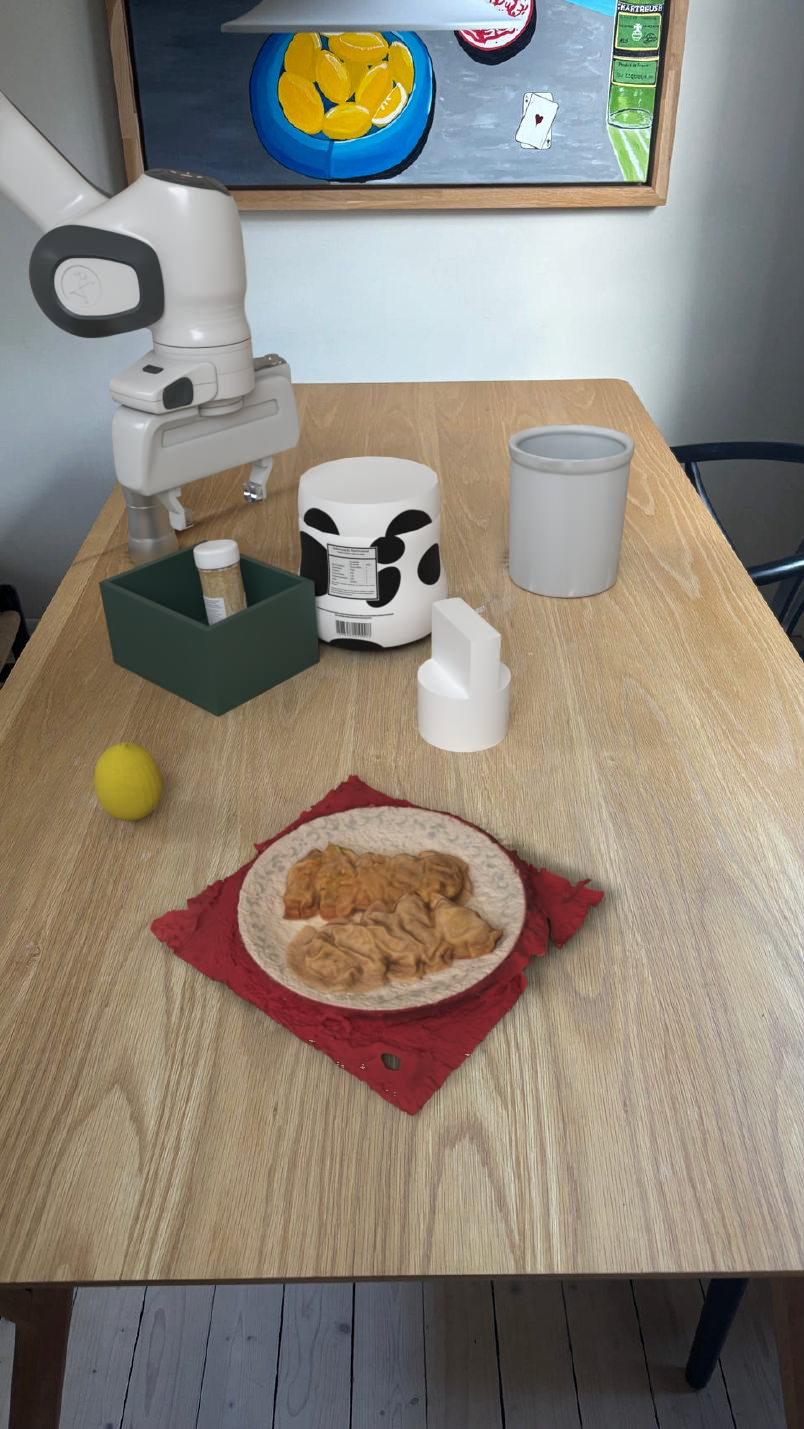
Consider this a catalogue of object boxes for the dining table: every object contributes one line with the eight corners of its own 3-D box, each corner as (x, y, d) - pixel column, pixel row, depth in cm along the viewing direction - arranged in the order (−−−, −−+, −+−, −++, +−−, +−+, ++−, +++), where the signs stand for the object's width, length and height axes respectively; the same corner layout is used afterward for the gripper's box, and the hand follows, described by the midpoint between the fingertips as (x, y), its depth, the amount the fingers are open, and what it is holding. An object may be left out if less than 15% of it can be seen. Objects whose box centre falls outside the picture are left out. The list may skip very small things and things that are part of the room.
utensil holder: (485, 561, 135) (490, 429, 126) (587, 546, 139) (599, 417, 130) (531, 608, 123) (540, 466, 114) (641, 590, 127) (658, 452, 118)
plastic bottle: (123, 575, 133) (96, 421, 122) (143, 554, 139) (118, 405, 128) (170, 578, 132) (147, 423, 121) (188, 556, 138) (168, 407, 127)
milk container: (407, 585, 129) (406, 444, 120) (474, 643, 116) (478, 491, 106) (277, 613, 123) (265, 467, 113) (332, 678, 110) (323, 520, 100)
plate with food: (354, 790, 93) (352, 759, 91) (604, 906, 79) (606, 872, 77) (148, 942, 78) (140, 908, 76) (411, 1119, 64) (409, 1083, 62)
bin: (113, 662, 114) (98, 581, 108) (214, 616, 123) (205, 539, 118) (218, 717, 104) (207, 631, 98) (319, 662, 113) (314, 580, 108)
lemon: (145, 793, 93) (131, 718, 89) (179, 819, 90) (167, 743, 85) (90, 820, 90) (74, 744, 86) (124, 848, 86) (108, 771, 82)
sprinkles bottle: (264, 665, 109) (243, 544, 104) (224, 677, 108) (200, 554, 102) (250, 652, 113) (228, 535, 107) (211, 663, 112) (186, 544, 106)
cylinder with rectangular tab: (403, 714, 104) (401, 608, 97) (482, 695, 107) (486, 590, 100) (441, 761, 97) (442, 649, 90) (524, 739, 100) (531, 629, 93)
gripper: (265, 344, 102) (274, 478, 110) (92, 386, 89) (116, 535, 96) (310, 354, 99) (317, 492, 106) (137, 399, 86) (158, 553, 93)
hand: (220, 513), depth 101 cm, fingers open, 8 cm apart
